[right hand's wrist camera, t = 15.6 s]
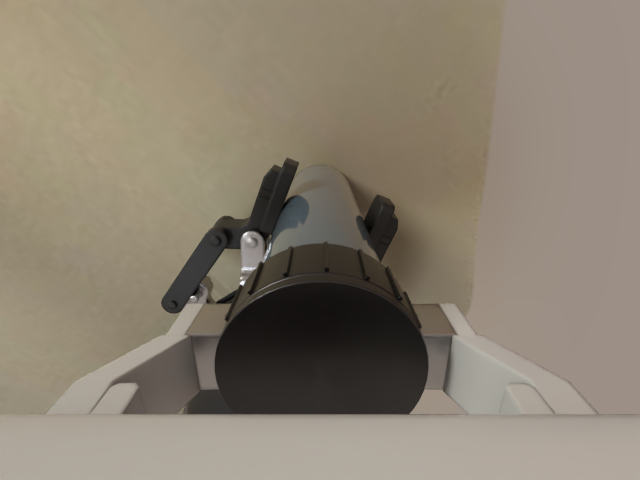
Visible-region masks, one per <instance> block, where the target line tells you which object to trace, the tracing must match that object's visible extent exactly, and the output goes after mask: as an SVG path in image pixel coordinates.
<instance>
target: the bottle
mask: <svg viewBox="0 0 640 480" xmlns="http://www.w3.org/2000/svg"><path fill="white" fill-rule="evenodd" d="M324 241H325V242H328V244H337V245H342V246H346V247H351V248H353V249H356V250H359V249H362V250H363V253H365V254H367V255H369V256H371V257H373V258H374V259H376V260H377V261H378V262H380V261H379V259H378V256H377V254H376V251H375V248H374V246H373V243H372V241H371V238H370V235H369V233H368V230H367V228H366V225H365V223H364V220H363V217H362V215H361V212H360V210H359V207H358V204H357V202H356V199H355V197H354V194H353V191H352V189H351V186H350V184H349V182H348V180H347V179H346V177H345V176H344V175H343V174H342V173H341V172H340V171H338V170H336V169H335V168H332V167H329V166H324V165H316V166H311V167H309V168H306V169H304V170H303V171H301V172H300V173H299V174H298V175H297V176H296V177H295V178H294V180H293V181H292V184H291V186H290V189H289V192H288V194H287V197H286V200H285V202H284V205H283V208H282V211H281V213H280V216H279V218H278V221H277V223H276V226H275V229H274V231H273V234H272V237H271V239H270V242H269V245H268V247H267V250H266V253H265V256H264V258H263V261H262V262H264V261H266V260H267V259H268V258H270V257H272V256H274V255H275V254H277V253H279V252H282V251H284V250H287V249H288V247H289V246H292V247H296V246H300V245H306V244H314V243H324Z"/></svg>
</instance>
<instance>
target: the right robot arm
mask: <svg viewBox="0 0 640 480" xmlns="http://www.w3.org/2000/svg"><path fill="white" fill-rule="evenodd" d="M230 306H231V304H211V303H206V304H205V303H190V304H187V305H186V306H185V308H184V309H183V310H182V312H181V313H180V315H179V316H178V318H177V319H176V321H175V322H174V324H173V325H172V327H171V328H170V330H169V331H168V332H167V334H166V335H160V336H158V337H156V338H154V339H153V340H151V341H149V342H147V343H145V344H143V345H141V346H140V347H138V348H136V349H134V350H132V351H130V352H128V353H127V354H125V355H123V356H121V357H119V358H117V359H115V360H114V361H112V362H110V363H108V364H106V365H104V366H102V367H101V368H99V369H97V370H95V371H93V372H91V373H89V374H88V375H86V376H84V377H82V378H80V379H78V380H76V381H75V382H74V383H73V384H72V385H71V386H70V387H69V388H68V390H67V391H66V392H65V393H64V394H63V395H62V396H61V397H60V398H59V400H58V401H57V402H56V403H55V404H54V405H53V406H52V407H51V408H50V410H49V411H48V412H47V413H46V414H0V480H640V414H599V413H598V412H597V411H596V410H595V409H594V408H593V407H592V406H591V405H590V403H589V402H588V401H587V400H586V399H585V398H584V397H583V396H582V395H581V394H580V392H579V391H578V390H577V389H576V388H575V387H574V386H573V385H572V384H571V382H569V381H567V380H565V379H564V378H562V377H560V376H558V375H556V374H554V373H552V372H550V371H549V370H547V369H545V368H543V367H541V366H539V365H537V364H536V363H534V362H532V361H530V360H528V359H526V358H524V357H522V356H521V355H519V354H517V353H515V352H513V351H511V350H509V349H508V348H506V347H504V346H502V345H500V344H498V343H496V342H494V341H493V340H491V339H489V338H487V337H485V336H483V335H477V334H476V332H475V331H474V329H473V328H472V326H471V325H470V324H469V322H468V321H467V319H466V318H465V317H464V315H463V314H462V312H461V311H460V309H459V308H458V307H457V305H456V304H454V303H441V304H412V306H413V308H414V310H415V313H416V315H417V317H418V319H419V321H420V323H421V326H422V328H420V331H421V334H422V336H423V339H424V341H425V344H426V348H427V353H428V361H429V370H428V377H427V382H426V385H425V388H424V389H437V390H443V391H444V392H445V393H446V394H447V395H448V396H449V397H450V398H451V399H452V400H453V401H454V402H455V403H456V404H458V405H459V406H460V407H461V408H462V409H463V410H464V411H465V412H466V413H467V414H176V413H177V412H178V411H179V410H181V409H182V408H183V407H184V406H185V405H186V404H187V403H188V402H189V401H190V400H191V399H192V398H193V397H194V396H195V395H196V394H198V393H199V392H200V390H206V389H219V388H218V385H217V382H216V376H215V370H214V367H215V353H216V348H217V345H218V342H219V339H220V336H221V334H222V332H223V329H224V327H225V325H226V322H227V321H225V320H224V319H225V317H226V315H227V313H228V310H229V308H230Z"/></svg>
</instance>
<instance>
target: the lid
mask: <svg viewBox="0 0 640 480" xmlns="http://www.w3.org/2000/svg"><path fill="white" fill-rule="evenodd" d="M224 320H225V321H227V322H226V325H225V327H224V329H223V332H222V334H221V336H220V339H219V342H218V345H217V348H216V353H215V367H214V370H215V376H216V382H217V385H218V388H219V391H220V393H221V395H222V397H223V399H224V401H225V403H226V404H227V406H228V407H229V409H230V410H231V411H232V412H233V414H409V413H410V412H411V411H412V410H413V409H414V407H415V406H416V404H417V403H418V401H419V399H420V397H421V395H422V393H423V391H424V388H425V385H426V382H427V377H428V370H429V361H428V353H427V348H426V344H425V341H424V339H423V336H422V334H421V331H420V328H422V326H421V323H420V321H419V319H418V317H417V315H416V313H415V310H414V308H413V306H412V304H411V302H410V300H409V297H408V295H407V293H406V291H405V292H403V291H402V289H401V287H400V285H399V284H398V282H397V280H396V279H395V278H394V276H393V274H392V272H391V269H390V268H389V267H386V268H385V267H384V266H383V265H382V264H381V263H380V262H378V261H377V260H376V259H374V258H373V257H371V256H369V255H367V254H365V253H363V250H362V249H359V250H356V249H353V248H351V247H346V246H342V245H337V244H328V242H325V241H324V243H314V244H306V245H300V246H296V247H292V246H289V247H288V249H287V250H284V251H282V252H279V253H277V254H275V255H274V256H272V257H270V258H268V259H267V260H266V261H264V262H262V261H260V262H259V263H258V266H257V268H256V269H255V270H254V271H253V272H252V273H251V274H250V276H249V277H248V278H247V280H246V281H245V283H244V285H243V286H242V285H240V286H239V288H238V290H237V292H236V295H235V297H234V299H233V301H232V304H231V306H230V308H229V310H228V313H227V315H226V317H225V319H224Z"/></svg>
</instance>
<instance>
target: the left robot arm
mask: <svg viewBox="0 0 640 480" xmlns="http://www.w3.org/2000/svg"><path fill="white" fill-rule="evenodd" d="M298 165H299V162H297V161H294V160H292V159H289V158H287V159H286V160H285V162H284V164H283V167H279V166H277V165H274V166H273V167H272V168H271V169H270V170H269V171H268V173H267V174H266V175H265V176H264V178H263V181H262V184H261V187H260V190H259V193H258V196H257V199H256V202H255V205H254V208H253V211H252V214H251V217H249V218H247V219H234V218H232V217H230V216H223V217H221V218H220V219H219V220H218V221H217V222H216V224H215V225H214V227H213V228H211V229H210V230H209V231H208V232H207V233H206V234H205V236H204V237H203V239H202V240H201V242H200V243H199V245H198V246H197V248H196V249H195V251H194V252H193V254H192V255H191V257H190V258H189V260H188V261H187V263H186V264H185V266H184V267H183V269H182V270H181V272H180V273H179V275H178V276H177V278H176V279H175V281H174V282H173V284H172V285H171V287H170V288H169V290H168V291H167V293H166V294H165V296H164V297H163V299H162V302H161V304H162V307H163V308H164V309H165V310H166V311H167V312H169V313H178V312H180V311H181V310H182V309H184V308H185V306H186V305H187V304H190V303H205V304H206V303H211V304H232V301H233V299H234V297H235V295H236V292H237V290H238V289H237V290H236V291H234V292H232V293H230V294H229V295H227V296H225V297H224V298H222V299H220V300H218V301H217V302H215V301H214V300H213V299H212V296H211V291H212V289H213V283H212V281H211V279H210V277H208V276H206V275H207V273H208V272H209V270H210V269H211V268H212V266H213V265H214V263H215V262H216V260H217V259H218V258H219V256H220V255H221V253H222V252H223V250H224V249H241V267H242V269H241V276H240V285H242V286H243V285H244V283H245V281H246V280H247V278H248V277H249V276H250V274H251V273H252V272H253V271H254V270H255V269H256V268H257V266H258V263H259V262H260V261H263V258H264V256H265V253H266V250H267V247H268V245H269V242H270V235H272V234H273V231H274V229H275V226H276V223H277V221H278V218H279V216H280V213H281V211H282V208H283V205H284V202H285V200H286V197H287V194H288V192H289V189H290V186H291V184H292V181H293V178H294V176H295V173H296V170H297V167H298ZM394 209H395V206H394V205H393V203H392V202H391V201H390V199H388V198H385V197H383V196H380V195H377V196H376V197H375V199H374V200H373V202H372V205H371V207H370V209H369V211H368V213H367V215H366V217H365V219H364V223H365V225H366V228H367V230H368V233H369V235H370V238H371V241H372V243H373V246H374V248H375V251H376V254H377V256H378V259H379V261H380V262H381V260H382V258H383V256H384V254H385V252H386V250H387V248H388V246H389V245H390V243H391V241H392V238H393V237H394V235H395V233H396V231H397V226H398V219H397V218H396V216H395V215H394ZM183 414H233V412H232V411H231V410H230V409H229V407H228V406H227V404H226V403H225V401H224V399H223V397H222V395H221V393H220V391H219V389H206V390H200V392H199V393H198V394H196V395H195V396H194V397H193V398H192V399H191V400H190V401H189V402H188V403H187V404H186V405H185V408H184V411H183Z"/></svg>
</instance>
